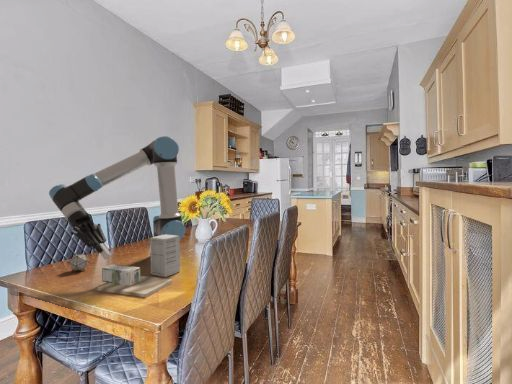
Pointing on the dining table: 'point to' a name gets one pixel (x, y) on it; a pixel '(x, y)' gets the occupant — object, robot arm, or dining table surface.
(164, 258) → the supplement box
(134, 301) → the dining table surface
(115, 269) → the syrup box
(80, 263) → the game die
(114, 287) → the cutting board
